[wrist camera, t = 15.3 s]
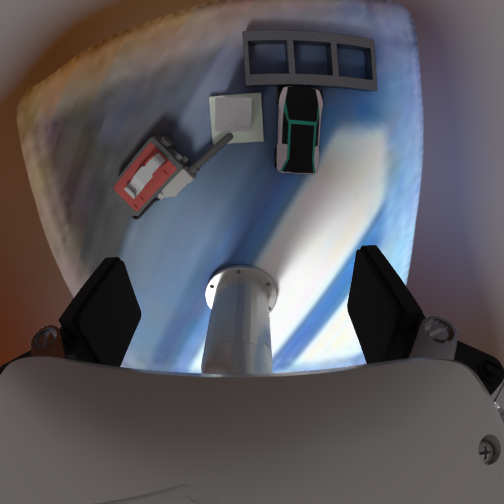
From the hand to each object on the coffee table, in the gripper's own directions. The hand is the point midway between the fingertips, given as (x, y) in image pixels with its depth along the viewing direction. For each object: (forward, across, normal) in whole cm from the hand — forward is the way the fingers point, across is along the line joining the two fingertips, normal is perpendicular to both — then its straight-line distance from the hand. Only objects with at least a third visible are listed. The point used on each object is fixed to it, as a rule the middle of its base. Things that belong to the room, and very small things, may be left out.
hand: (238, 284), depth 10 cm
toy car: (+31, -7, -4) cm, 32 cm away
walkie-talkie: (+30, +12, 0) cm, 32 cm away
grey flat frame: (+30, -9, -14) cm, 35 cm away
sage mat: (+30, +2, -6) cm, 31 cm away
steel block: (+30, +1, -6) cm, 30 cm away
